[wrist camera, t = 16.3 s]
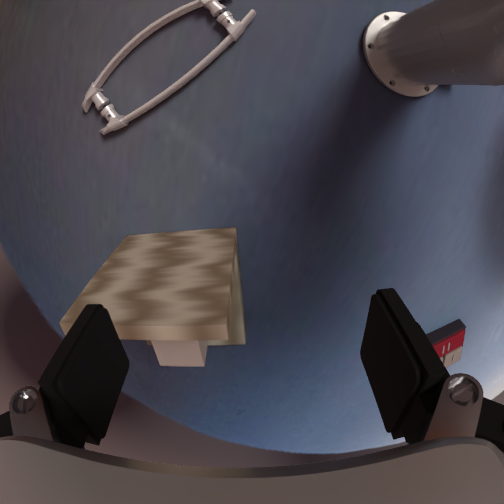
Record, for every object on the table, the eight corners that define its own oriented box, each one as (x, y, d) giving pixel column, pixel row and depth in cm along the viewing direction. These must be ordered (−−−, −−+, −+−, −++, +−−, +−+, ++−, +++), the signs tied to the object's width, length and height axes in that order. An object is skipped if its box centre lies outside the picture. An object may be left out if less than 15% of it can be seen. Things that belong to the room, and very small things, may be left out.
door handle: (268, 31, 30) (114, 147, 36) (223, -19, 26) (77, 97, 32) (269, 26, 27) (106, 150, 33) (221, -27, 24) (67, 98, 30)
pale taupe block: (197, 254, 38) (186, 289, 31) (211, 332, 44) (205, 372, 37) (153, 257, 38) (134, 290, 31) (173, 333, 44) (162, 371, 37)
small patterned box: (461, 360, 51) (405, 389, 53) (453, 348, 55) (398, 376, 57) (468, 327, 47) (406, 359, 48) (457, 315, 51) (397, 345, 52)
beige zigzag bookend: (236, 227, 41) (226, 324, 23) (245, 327, 49) (244, 433, 31) (126, 235, 41) (59, 322, 23) (153, 329, 49) (120, 425, 31)
